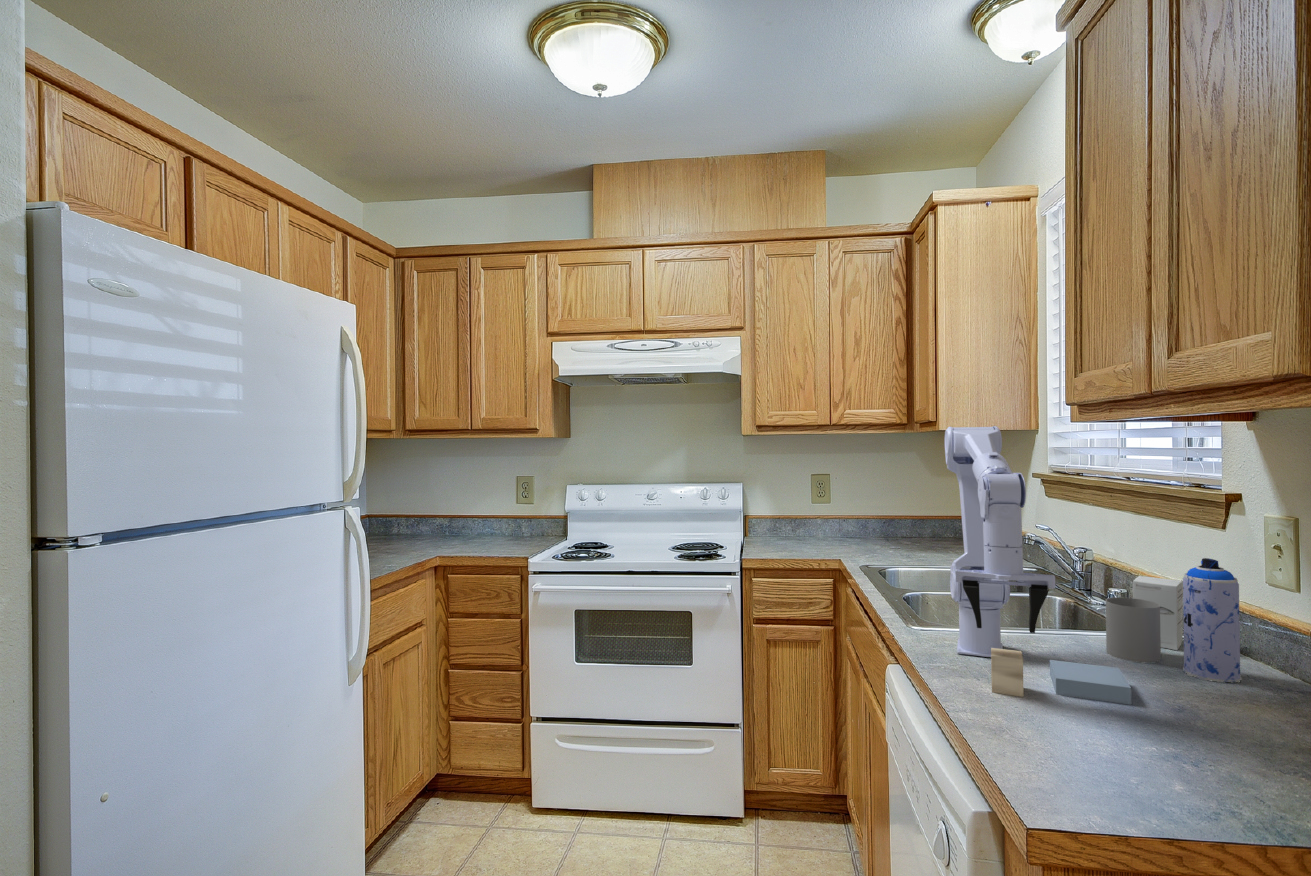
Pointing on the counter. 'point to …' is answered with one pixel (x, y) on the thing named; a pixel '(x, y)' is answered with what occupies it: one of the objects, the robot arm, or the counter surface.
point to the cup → (1133, 629)
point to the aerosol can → (1211, 623)
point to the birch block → (1007, 671)
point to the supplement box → (1164, 606)
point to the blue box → (1090, 682)
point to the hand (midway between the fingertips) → (1005, 629)
